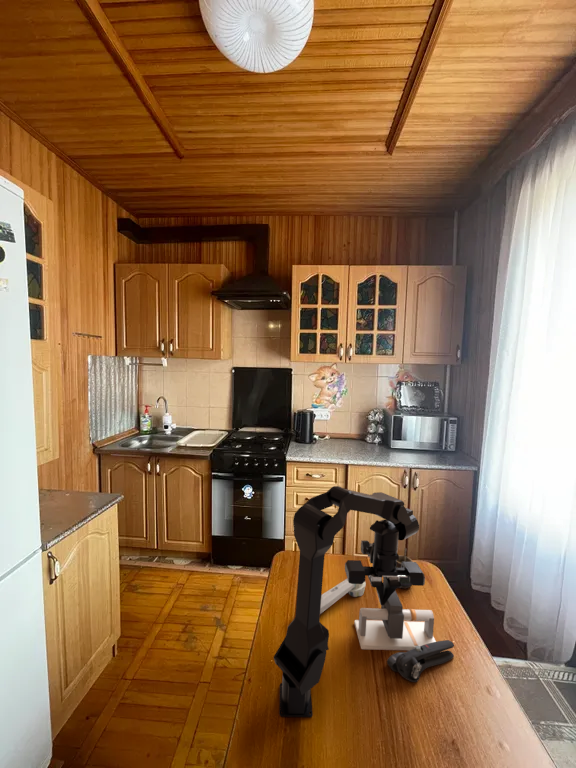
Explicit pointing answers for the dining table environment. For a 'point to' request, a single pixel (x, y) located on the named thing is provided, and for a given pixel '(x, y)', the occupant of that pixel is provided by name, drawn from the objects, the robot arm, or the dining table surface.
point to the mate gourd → (403, 580)
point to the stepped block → (394, 617)
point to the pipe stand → (377, 637)
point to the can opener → (420, 659)
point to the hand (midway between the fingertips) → (381, 604)
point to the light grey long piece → (340, 593)
